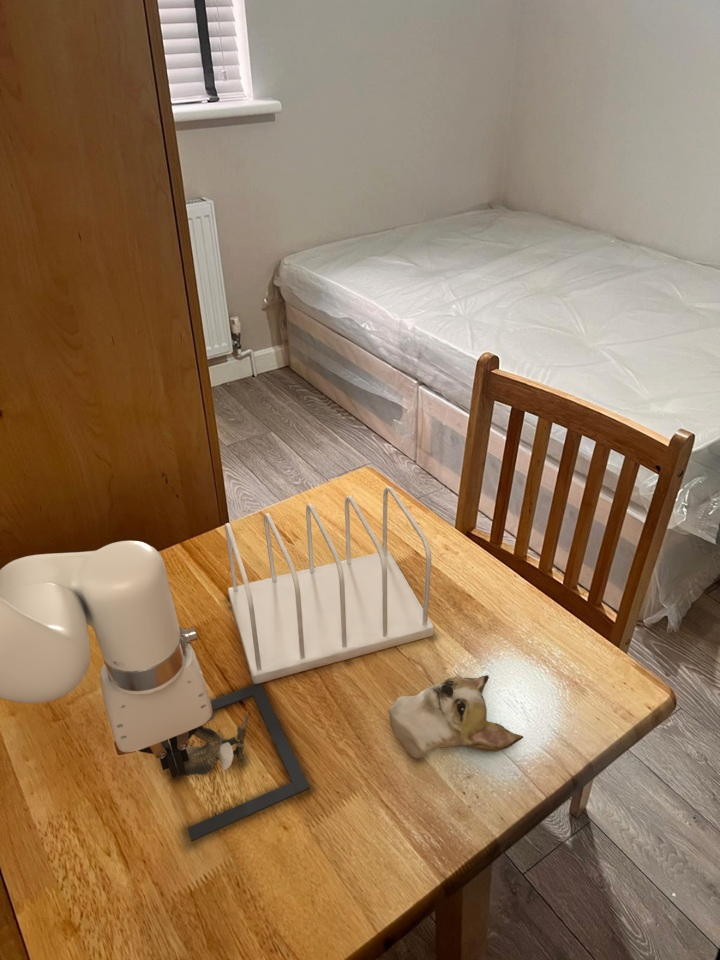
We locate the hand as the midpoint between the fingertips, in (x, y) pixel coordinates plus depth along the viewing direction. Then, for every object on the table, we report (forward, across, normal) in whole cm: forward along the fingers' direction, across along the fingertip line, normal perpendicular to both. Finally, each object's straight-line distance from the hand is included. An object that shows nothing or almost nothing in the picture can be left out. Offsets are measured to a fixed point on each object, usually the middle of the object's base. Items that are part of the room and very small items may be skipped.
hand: (176, 765), depth 82 cm
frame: (+2, -5, 0) cm, 6 cm away
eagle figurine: (+2, -4, -1) cm, 4 cm away
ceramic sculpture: (+2, -30, +9) cm, 32 cm away
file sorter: (+2, -25, -15) cm, 29 cm away
